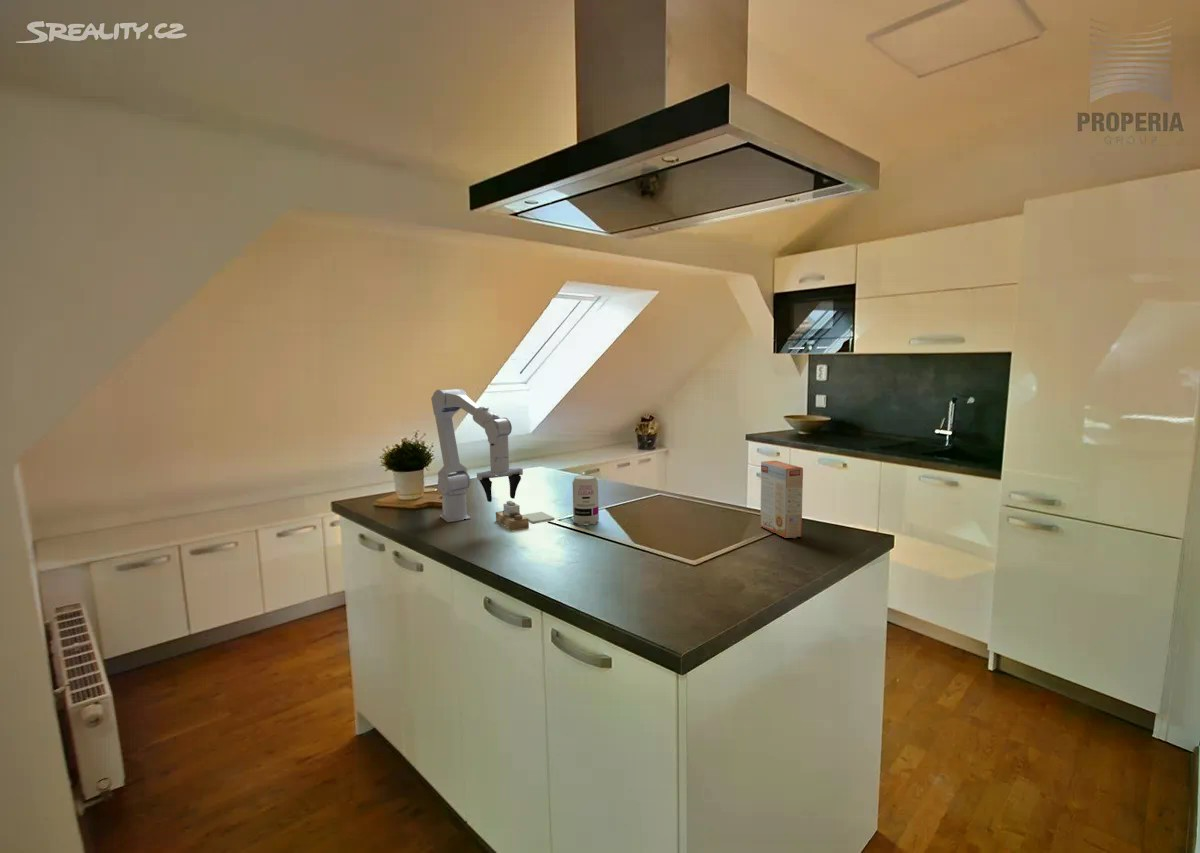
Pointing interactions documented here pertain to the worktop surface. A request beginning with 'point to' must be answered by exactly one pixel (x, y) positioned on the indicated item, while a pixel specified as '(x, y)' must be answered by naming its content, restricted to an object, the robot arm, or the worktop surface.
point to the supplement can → (585, 499)
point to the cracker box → (781, 498)
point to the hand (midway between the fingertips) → (501, 499)
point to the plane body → (513, 521)
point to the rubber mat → (538, 517)
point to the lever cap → (511, 509)
